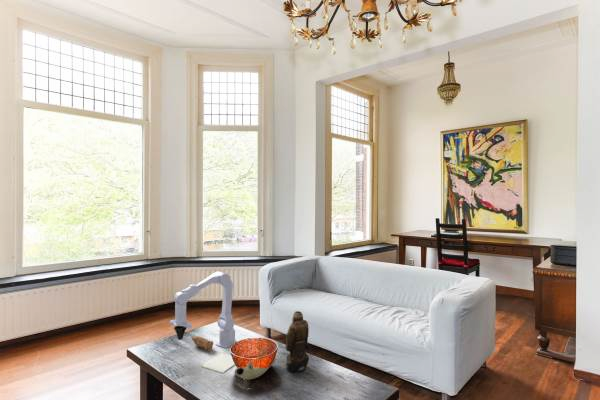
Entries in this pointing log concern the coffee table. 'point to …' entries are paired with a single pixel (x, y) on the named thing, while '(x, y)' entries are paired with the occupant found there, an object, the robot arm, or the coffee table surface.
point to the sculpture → (297, 344)
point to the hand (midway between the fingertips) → (180, 339)
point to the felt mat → (220, 363)
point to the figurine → (202, 342)
